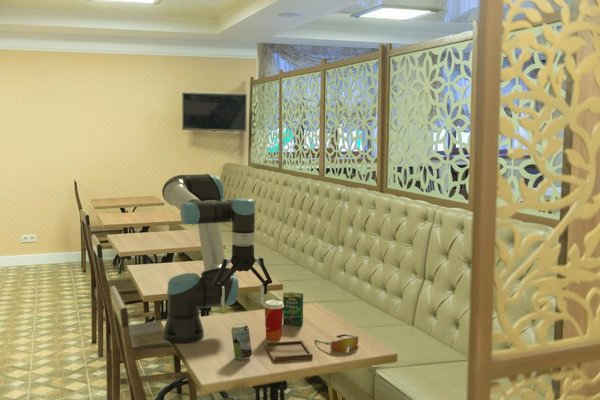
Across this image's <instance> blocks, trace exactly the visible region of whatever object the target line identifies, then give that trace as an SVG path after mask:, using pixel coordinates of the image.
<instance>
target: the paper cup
mask: <svg viewBox="0 0 600 400" xmlns="http://www.w3.org/2000/svg"><path fill="white" fill-rule="evenodd" d="M283 307H284V304H283V300H278V299H277V300H276V299H269V300H268V299H267V300H266V301H265V302H264V305H263V308H264V319H265V320H264V321H265V322H264V324H265V338H266V340H267V341H272V342H275V341H276V342H277V341H279V340H281V337H282V328H283Z"/></svg>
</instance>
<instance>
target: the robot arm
mask: <svg viewBox="0 0 600 400" xmlns="http://www.w3.org/2000/svg"><path fill="white" fill-rule="evenodd" d="M224 192H225V191H224V185H223V182H222V180H221V178H220V177H219V176H218V175H216V174H209V173H203V174H178V175H174V176H173V177H171V178H169V179H168V180H166V182H165V183H164V184H163V187H162V189H161V193H162V198H163V200H164V201H165V202H166V203H167V204H168V205H170V206H174V207H176V208H177V210H179V211H180V218H181V222H182V223H183V224H184V225H192V226H193V225H194V226H195V225H197V228H198V234H199V242H200V248H201V249H200V250H201V257H202V262H203V270H202V271H201V273H200V275H201V276H200V275H199V274H198V273H195V272H192V273H190V272H189V273H181V274H178V275H174V276H173V277H171V278H170V279H169V280H168V283H167V291H166V292H167V318H166V322H165V325H164V327H163V331H162V338H163V339H164V340H165V341H167V342H169V343H174V344H188V343H194V342H197V341H200V340H202V339H203V338H204V336H205V334H204V333H205V332H204V327H203V324H202V320H201V318H200V309H206V308H215V307H226V306H231V305H233V304H235V303H236V301H237V299H238V296H239V295H238V294H239V288H240V287H239V279H238V276H237V274H235V273H236V272H249V271H251V272H252V273H253V274H254V275H255V276H256V278H257V279H258V280H259V281H260V282H261V283H260V287H259V288H260V289H259V290H260V291H259V292H260V293H259V302H260V304H261V305H263V306H264V304H265V302H264V301H265V295H267V294H268V285H269V284H270V285H271V284H273V280H272V277H271V276H270V274H269V272H268V270H267V268H266V266H265V264H264V263H265V261H264V258H263V257H262V256H258V257H255V245H254V243H255V223H256V222H255V218H256V217H255V216H256V207H255V200H254V199H252V198H249V197H248V198H247V197H237V198H234V199H225V197H224V196H225V194H224ZM224 199H225V200H224ZM223 223H225V224H226V223H231V224H232V225H231V226H232V230H231V234H232V235H231V243H232V245H231V258H226V255H225V249H224V243H223V237H222V231H221V225H220V224H223ZM230 263H231V265H232V266H231V267H229V266H228V265H229V264H230ZM255 263H257V264H258V265H259V266H260V268H261V270H262V272H263V275H264V276H265V278H266V280H265V278H264V277H263V276H262V275H261V274H260V273H259V272H258V271H257V270H256V269H255V267H254V265H255Z"/></svg>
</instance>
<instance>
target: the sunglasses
mask: <svg viewBox="0 0 600 400" xmlns="http://www.w3.org/2000/svg"><path fill="white" fill-rule="evenodd" d="M335 337H337V338H341V337H346V338H341V339H337V340H333V341H321V340H318V339H315V340H314V342H315V343H319V344H324V345H326V346H329V348H330V351H331V352H336V353H338V352H346V351H347V350H348V348H349V350H351V351H352V350H354V349H356V348H357V346H358V344H359V336H358V335H353V334H347V333H343V334H339V335H336V336H335Z"/></svg>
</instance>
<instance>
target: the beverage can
mask: <svg viewBox="0 0 600 400" xmlns="http://www.w3.org/2000/svg"><path fill="white" fill-rule="evenodd" d="M231 337H232V338H231V339H232V345H233V353H234V358H236V359H237V360H246V359H249V358H251V356H252V355H253V352H252V351H253V350H252V344H251V343H252V341H251V335H250V329H249V326H248V325H247V323H245V322H242V323H241V322H240V323H236V324H233V325H232V328H231Z"/></svg>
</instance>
